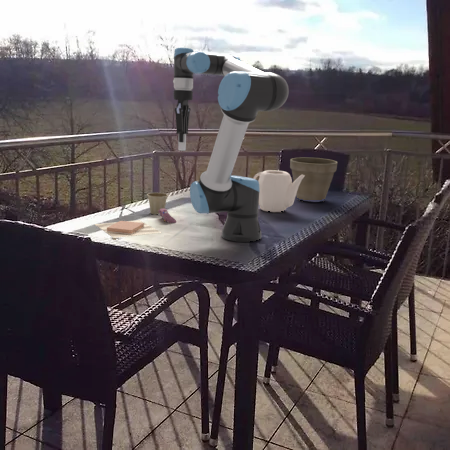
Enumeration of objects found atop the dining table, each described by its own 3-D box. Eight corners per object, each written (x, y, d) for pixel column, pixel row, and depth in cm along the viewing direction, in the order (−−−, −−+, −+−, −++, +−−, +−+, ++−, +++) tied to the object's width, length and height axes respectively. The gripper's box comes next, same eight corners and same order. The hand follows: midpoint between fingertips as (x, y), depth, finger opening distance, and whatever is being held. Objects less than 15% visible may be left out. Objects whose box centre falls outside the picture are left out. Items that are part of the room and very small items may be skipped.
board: (161, 234, 194) (161, 232, 194) (113, 240, 184) (113, 237, 184) (139, 221, 212) (139, 220, 212) (94, 226, 202) (94, 224, 202)
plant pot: (323, 207, 259) (327, 164, 254) (279, 200, 271) (282, 159, 266) (340, 200, 280) (344, 160, 274) (298, 194, 292) (301, 156, 287)
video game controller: (161, 223, 219) (154, 209, 216) (171, 218, 220) (164, 204, 217) (167, 228, 210) (160, 214, 207) (177, 223, 211) (170, 208, 208)
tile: (143, 223, 201) (131, 230, 189) (143, 226, 201) (131, 234, 190) (120, 220, 203) (106, 227, 192) (120, 224, 203) (106, 231, 192)
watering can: (296, 217, 232) (299, 176, 228) (243, 209, 244) (245, 170, 240) (307, 211, 246) (310, 172, 241) (256, 204, 258) (259, 167, 253)
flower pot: (164, 216, 224) (164, 197, 221) (143, 214, 225) (143, 195, 223) (170, 212, 233) (170, 193, 230) (151, 210, 234) (151, 192, 232)
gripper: (179, 89, 206) (178, 148, 212) (168, 88, 194) (167, 151, 200) (197, 90, 205) (195, 149, 210) (187, 89, 192) (185, 152, 198)
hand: (182, 150), depth 205 cm, fingers closed
